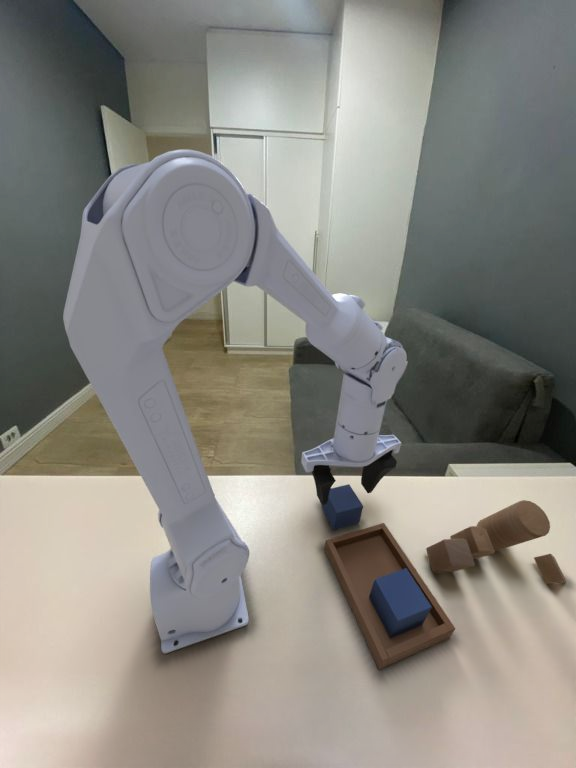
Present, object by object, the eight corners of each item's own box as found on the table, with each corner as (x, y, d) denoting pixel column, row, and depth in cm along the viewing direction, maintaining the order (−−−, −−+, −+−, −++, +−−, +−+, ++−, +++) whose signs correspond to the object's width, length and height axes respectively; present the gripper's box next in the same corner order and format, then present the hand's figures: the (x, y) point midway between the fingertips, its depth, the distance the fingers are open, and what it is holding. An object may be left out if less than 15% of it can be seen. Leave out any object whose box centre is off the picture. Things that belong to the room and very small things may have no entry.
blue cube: (390, 638, 35) (397, 621, 33) (368, 597, 38) (374, 578, 36) (422, 624, 36) (432, 607, 34) (399, 585, 40) (406, 567, 38)
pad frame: (378, 669, 33) (382, 661, 32) (324, 548, 44) (325, 539, 43) (450, 637, 36) (455, 628, 35) (381, 531, 47) (383, 522, 46)
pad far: (333, 530, 47) (336, 513, 45) (321, 507, 51) (324, 489, 49) (359, 523, 48) (363, 506, 46) (345, 500, 52) (349, 483, 50)
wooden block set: (431, 589, 42) (468, 582, 34) (413, 522, 48) (441, 502, 39) (557, 583, 43) (622, 575, 35) (525, 518, 48) (576, 497, 40)
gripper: (387, 398, 46) (371, 466, 52) (296, 412, 42) (291, 484, 48) (419, 426, 40) (396, 498, 47) (316, 445, 36) (307, 522, 42)
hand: (344, 493), depth 47 cm, fingers open, 7 cm apart
